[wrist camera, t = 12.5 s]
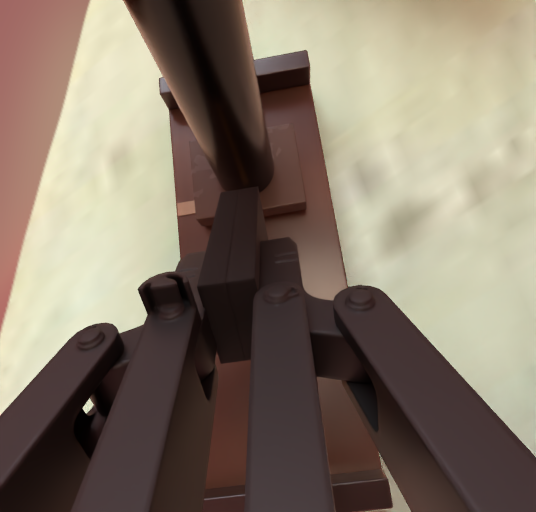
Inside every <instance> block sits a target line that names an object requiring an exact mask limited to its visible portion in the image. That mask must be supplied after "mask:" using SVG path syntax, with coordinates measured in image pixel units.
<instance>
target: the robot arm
mask: <svg viewBox="0 0 536 512" xmlns="http://www.w3.org/2000/svg"><path fill="white" fill-rule="evenodd" d="M138 291H139V294H140V296H141V299H142V301H143V304H144V306H145V309H146V311H147V314H148V315H147V318H146V321H145V323H144V325H141V326H139V327H137V328H134V329H131V330H128V331H125V332H123V333H120V334H119V332H118V330H117V328H116V327H115V326H114V325H113V324H109V323H99V324H94V325H92V326H88V327H86V328H84V329H83V330H81V331H79V332H77V333H76V334H75V335H74V336H73V337H72V338H70V339H69V340H68V342H67V343H66V344H65V345H64V346H63V347H62V348H61V349H60V350H59V351H58V353H57V354H56V355H55V356H54V357H53V358H52V359H51V360H50V361H49V362H48V364H47V365H46V366H45V367H44V368H43V369H42V370H41V371H40V372H39V373H38V375H37V376H36V377H35V378H34V379H33V380H32V381H31V382H30V383H29V385H28V386H27V387H26V388H25V389H24V390H23V391H22V392H21V393H20V394H19V396H18V397H17V398H16V399H15V400H14V401H13V402H12V403H11V404H10V405H9V407H8V408H7V409H6V410H5V411H4V412H3V413H2V414H1V415H0V512H202V510H203V502H204V494H205V486H206V478H207V470H208V461H209V453H210V445H211V437H212V429H213V421H214V413H215V405H216V397H217V389H218V381H219V376H218V371H217V367H216V364H215V359H216V352H217V353H218V357H219V360H220V363H221V364H224V363H232V362H239V361H247V360H251V366H250V389H249V412H248V435H247V458H246V481H245V504H244V512H336V510H335V503H334V496H333V489H332V482H331V475H330V468H329V461H328V454H327V447H326V440H325V433H324V426H323V419H322V412H321V405H320V398H319V391H318V383H317V377H322V378H329V379H336V380H341V381H342V385H343V387H344V389H345V391H346V393H347V394H348V396H349V398H350V400H351V402H352V404H353V405H354V407H355V409H356V411H357V413H358V414H359V416H360V418H361V420H362V422H363V424H364V425H365V427H366V429H367V431H368V433H369V435H370V436H371V438H372V440H373V442H374V444H375V446H376V447H377V449H378V451H379V453H380V455H381V457H382V458H383V460H384V462H385V464H386V466H387V468H388V469H389V471H390V473H391V475H392V477H393V478H394V480H395V482H396V484H397V486H398V488H399V489H400V491H401V493H402V495H403V497H404V499H405V500H406V502H407V504H408V506H409V508H410V510H411V511H412V512H536V457H535V456H534V455H533V454H532V453H531V452H530V450H529V449H528V448H527V447H526V446H525V445H524V444H523V443H522V442H521V441H520V440H519V438H518V437H517V436H516V435H515V434H514V433H513V432H512V431H511V430H510V429H509V428H508V426H507V425H506V424H505V423H504V422H503V421H502V420H501V419H500V418H499V417H498V416H497V414H496V413H495V412H494V411H493V410H492V409H491V408H490V407H489V406H488V405H487V404H486V402H485V401H484V400H483V399H482V398H481V397H480V396H479V395H478V394H477V393H476V392H475V391H474V389H473V388H472V387H471V386H470V385H469V384H468V383H467V382H466V381H465V380H464V379H463V377H462V376H461V375H460V374H459V373H458V372H457V371H456V370H455V369H454V368H453V367H452V365H451V364H450V363H449V362H448V361H447V360H446V359H445V358H444V357H443V356H442V355H441V353H440V352H439V351H438V350H437V349H436V348H435V347H434V346H433V345H432V344H431V343H430V342H429V340H428V339H427V338H426V337H425V336H424V335H423V334H422V333H421V332H420V331H419V330H418V328H417V327H416V326H415V325H414V324H413V323H412V322H411V321H410V320H409V319H408V318H407V316H406V315H405V314H404V313H403V312H402V311H401V310H400V309H399V308H398V307H397V306H396V304H395V303H394V302H393V301H392V300H391V299H390V298H389V297H388V296H387V295H386V294H385V293H384V292H383V291H381V290H380V289H378V288H374V287H371V286H362V285H358V286H352V287H348V288H346V289H343V290H341V291H340V292H339V293H338V294H336V295H335V297H334V300H325V299H319V298H316V297H313V296H311V295H310V294H308V293H307V292H306V291H305V290H304V287H303V282H302V276H301V269H300V262H299V256H298V249H297V243H296V242H295V241H293V240H292V239H291V238H290V237H285V238H279V239H272V240H268V236H267V231H266V226H265V220H264V215H263V210H262V205H261V199H260V194H259V189H258V186H257V187H251V188H245V189H239V190H233V191H227V192H221V193H220V197H219V201H218V205H217V209H216V213H215V217H214V221H213V225H212V229H211V233H210V237H209V241H208V245H207V248H206V251H201V252H194V253H188V254H186V255H185V256H184V257H183V258H182V259H181V260H180V261H179V263H178V266H177V268H176V272H166V273H162V274H158V275H156V276H154V277H151V278H149V279H148V280H146V281H145V282H144V283H142V285H141V286H140V287H139V288H138ZM89 398H90V399H91V401H92V403H93V404H94V406H93V407H92V409H91V410H90V411H89V412H88V413H87V414H86V413H85V412H84V410H83V409H82V408H83V406H84V405H85V404H86V402H87V401H88V399H89Z"/></svg>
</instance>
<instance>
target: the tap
mask: <svg viewBox="0 0 536 512" xmlns="http://www.w3.org/2000/svg"><path fill="white" fill-rule="evenodd" d="M123 1H124V3H125V5H126V7H127V9H128V11H129V12H130V14H131V16H132V18H133V20H134V22H135V24H136V26H137V28H138V30H139V31H140V33H141V35H142V37H143V39H144V41H145V43H146V45H147V47H148V49H149V50H150V52H151V54H152V56H153V58H154V60H155V62H156V64H157V66H158V68H159V70H160V71H161V73H162V75H163V77H164V79H165V81H166V83H167V85H168V87H169V89H170V90H171V92H172V94H173V96H174V98H175V100H176V102H177V104H178V106H179V108H180V109H181V111H182V113H183V115H184V117H185V119H186V121H187V123H188V125H189V127H190V128H191V130H192V132H193V134H194V136H195V138H196V140H194V141H189V147H190V158H191V169H192V180H193V192H194V203H195V214H196V220H197V221H198V222H199V224H200V225H201V226H208V225H213V221H214V217H215V213H216V209H217V205H218V201H219V197H220V193H221V192H227V191H233V190H239V189H245V188H251V187H257V186H258V189H259V194H260V199H261V205H262V210H263V215H264V216H270V215H276V214H282V213H288V212H294V211H301V210H306V209H307V203H306V195H305V190H304V184H303V178H302V172H301V166H300V160H299V154H298V148H297V142H296V136H295V130H294V124H293V123H290V124H285V125H279V126H273V127H268V128H267V125H266V120H265V115H264V110H263V105H262V100H261V95H260V89H259V84H258V79H257V74H256V69H255V64H254V59H253V53H252V48H251V43H250V38H249V33H248V28H247V23H246V18H245V12H244V7H243V2H242V0H123Z"/></svg>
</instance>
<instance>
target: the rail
mask: <svg viewBox="0 0 536 512" xmlns="http://www.w3.org/2000/svg"><path fill="white" fill-rule="evenodd" d="M254 64H255V69H256V74H257V79H258V84H259V89H260V95H261V100H262V105H263V110H264V115H265V120H266V125H267V128H268V127H273V126H279V125H285V124H290V123H293V124H294V130H295V136H296V142H297V148H298V154H299V160H300V166H301V172H302V178H303V184H304V190H305V195H306V203H307V209H306V210H301V211H294V212H288V213H282V214H276V215H270V216H264V220H265V226H266V231H267V236H268V240H272V239H279V238H285V237H290V238H291V239H292V240H293V241H295V242H296V243H297V249H298V256H299V262H300V269H301V276H302V282H303V287H304V290H305V291H306V292H307V293H308V294H310V295H311V296H313V297H316V298H319V299H325V300H334V297H335V295H336V294H338V293H339V292H340V291H341V290H343V289H346V288H348V285H347V279H346V274H345V269H344V263H343V258H342V252H341V247H340V242H339V236H338V231H337V226H336V220H335V215H334V209H333V204H332V199H331V193H330V188H329V182H328V177H327V172H326V166H325V161H324V156H323V150H322V145H321V139H320V134H319V129H318V123H317V118H316V112H315V107H314V102H313V96H312V91H311V86H310V63H309V58H308V52H307V50H304V51H299V52H294V53H288V54H283V55H278V56H272V57H267V58H262V59H257V60H254ZM159 87H160V95H161V97H162V98H163V100H164V102H165V104H166V105H167V107H168V109H169V115H170V128H171V141H172V154H173V167H174V180H175V193H176V206H177V219H178V232H179V245H180V258H181V259H182V258H183V257H184V256H185V255H186V254H188V253H194V252H201V251H206V248H207V245H208V241H209V237H210V233H211V229H212V225H208V226H201V225H200V224H199V222H198V221H197V220H196V214H195V203H194V192H193V180H192V169H191V158H190V147H189V141H194V140H196V138H195V136H194V134H193V132H192V130H191V128H190V127H189V125H188V123H187V121H186V119H185V117H184V115H183V113H182V111H181V109H180V108H179V106H178V104H177V102H176V100H175V98H174V96H173V94H172V92H171V90H170V89H169V87H168V85H167V83H166V81H165V79H164V77H161V78H159ZM215 364H216V367H217V371H218V376H219V381H218V389H217V397H216V405H215V413H214V421H213V429H212V437H211V445H210V453H209V461H208V470H207V478H206V486H205V494H204V502H203V510H202V512H244V504H245V481H246V458H247V435H248V412H249V389H250V366H251V360H247V361H239V362H232V363H224V364H221V363H220V360H219V357H218V353H217V352H216V359H215ZM317 383H318V391H319V398H320V405H321V412H322V419H323V426H324V433H325V440H326V447H327V454H328V461H329V468H330V475H331V482H332V489H333V496H334V503H335V510H336V512H359V511H368V510H378V509H387V508H392V507H393V503H392V498H391V493H390V488H389V482H388V479H387V477H386V475H385V474H384V472H383V471H382V468H381V462H380V457H379V452H378V449H377V447H376V446H375V444H374V442H373V440H372V438H371V436H370V435H369V433H368V431H367V429H366V427H365V425H364V424H363V422H362V420H361V418H360V416H359V414H358V413H357V411H356V409H355V407H354V405H353V404H352V402H351V400H350V398H349V396H348V394H347V393H346V391H345V389H344V387H343V385H342V381H341V380H336V379H329V378H322V377H317Z"/></svg>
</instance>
